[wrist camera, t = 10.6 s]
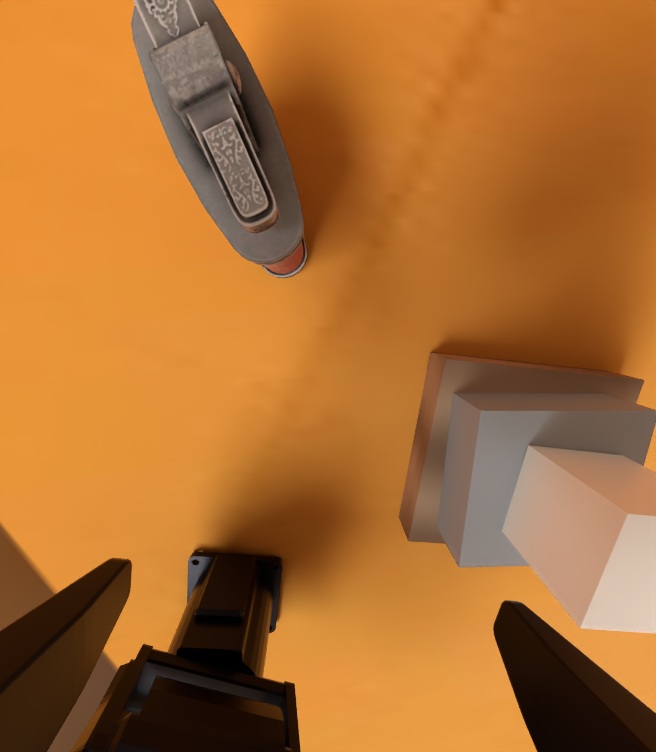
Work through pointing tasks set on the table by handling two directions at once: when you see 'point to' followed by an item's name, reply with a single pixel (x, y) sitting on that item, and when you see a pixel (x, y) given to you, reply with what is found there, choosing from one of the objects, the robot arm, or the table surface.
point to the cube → (589, 534)
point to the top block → (520, 458)
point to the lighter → (222, 129)
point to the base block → (479, 377)
